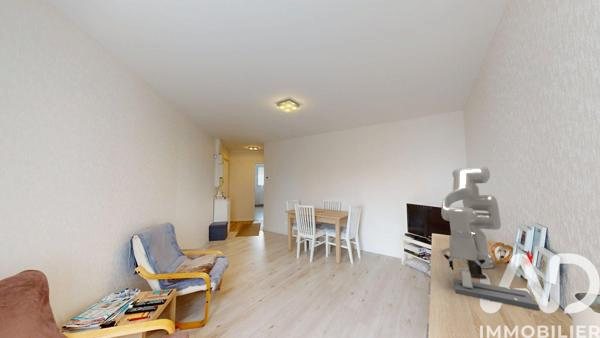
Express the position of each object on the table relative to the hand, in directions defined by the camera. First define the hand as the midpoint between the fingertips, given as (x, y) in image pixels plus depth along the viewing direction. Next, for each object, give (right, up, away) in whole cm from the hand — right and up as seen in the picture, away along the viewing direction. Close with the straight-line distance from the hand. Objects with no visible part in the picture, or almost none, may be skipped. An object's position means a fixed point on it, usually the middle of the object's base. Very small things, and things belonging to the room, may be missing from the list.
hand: (465, 271), depth 94 cm
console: (+7, -8, -5) cm, 12 cm away
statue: (+16, -10, +13) cm, 23 cm away
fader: (+1, -6, 0) cm, 6 cm away
